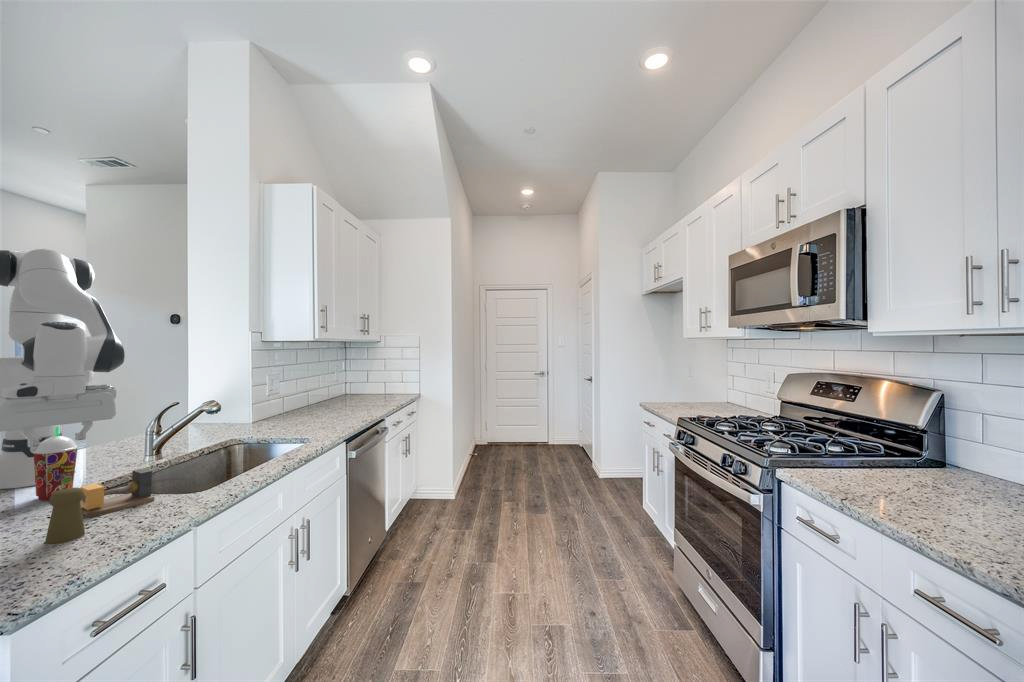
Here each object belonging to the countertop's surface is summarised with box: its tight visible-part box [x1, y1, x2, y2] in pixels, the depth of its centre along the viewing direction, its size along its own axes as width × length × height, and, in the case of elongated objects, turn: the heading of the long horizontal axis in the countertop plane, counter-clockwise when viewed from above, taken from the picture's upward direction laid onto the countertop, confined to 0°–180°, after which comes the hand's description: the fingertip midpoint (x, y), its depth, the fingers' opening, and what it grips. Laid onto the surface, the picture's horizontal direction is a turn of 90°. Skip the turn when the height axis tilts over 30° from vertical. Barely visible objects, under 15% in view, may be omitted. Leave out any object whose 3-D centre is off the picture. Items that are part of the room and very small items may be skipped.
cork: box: [44, 487, 86, 546], centre depth 89 cm, size 6×6×11 cm
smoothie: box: [33, 426, 79, 502], centre depth 112 cm, size 8×8×20 cm
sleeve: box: [80, 482, 105, 510], centre depth 103 cm, size 5×3×5 cm, turn 63°
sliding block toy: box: [81, 467, 155, 518], centre depth 107 cm, size 9×13×8 cm
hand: (57, 443), depth 97 cm, fingers open, 6 cm apart
